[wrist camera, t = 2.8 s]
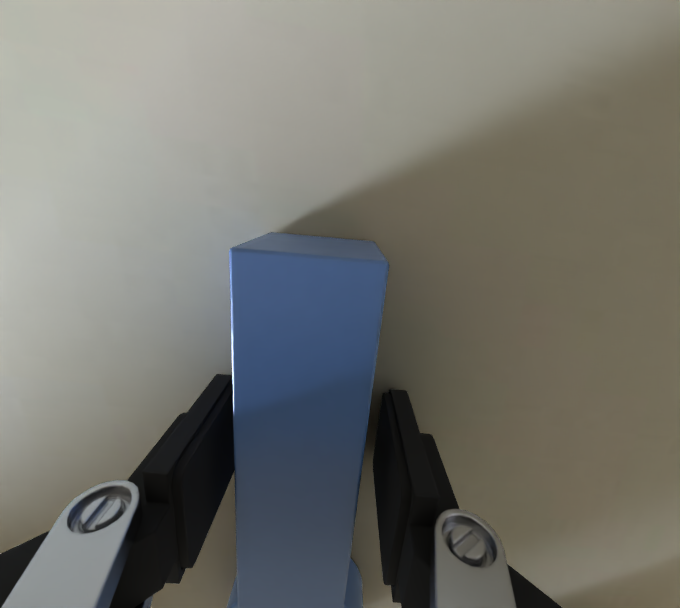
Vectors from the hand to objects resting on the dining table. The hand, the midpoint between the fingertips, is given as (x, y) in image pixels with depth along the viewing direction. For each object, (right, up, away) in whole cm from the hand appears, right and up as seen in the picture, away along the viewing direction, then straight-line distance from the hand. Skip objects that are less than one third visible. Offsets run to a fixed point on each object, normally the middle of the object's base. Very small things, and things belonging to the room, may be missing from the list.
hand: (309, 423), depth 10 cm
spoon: (0, -2, +1) cm, 2 cm away
